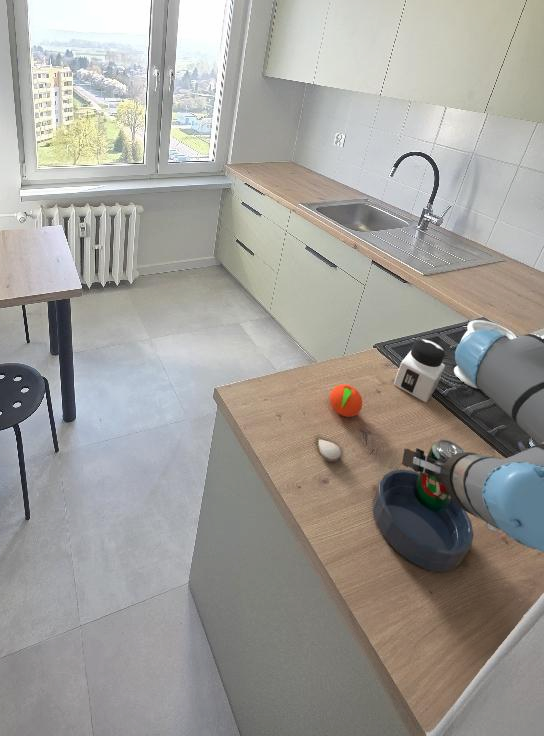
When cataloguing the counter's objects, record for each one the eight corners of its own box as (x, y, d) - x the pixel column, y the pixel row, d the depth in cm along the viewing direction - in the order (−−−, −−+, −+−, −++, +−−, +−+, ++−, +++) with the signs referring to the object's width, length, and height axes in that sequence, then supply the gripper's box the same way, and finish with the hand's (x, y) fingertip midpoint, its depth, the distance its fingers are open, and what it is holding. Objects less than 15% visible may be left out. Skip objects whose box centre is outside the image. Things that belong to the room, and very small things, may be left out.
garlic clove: (328, 467, 85) (330, 458, 84) (310, 447, 89) (312, 438, 88) (343, 459, 86) (346, 451, 85) (325, 440, 91) (327, 431, 90)
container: (426, 403, 101) (443, 362, 96) (392, 384, 106) (407, 344, 101) (436, 387, 106) (453, 347, 101) (404, 370, 111) (418, 331, 106)
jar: (458, 358, 117) (477, 314, 110) (502, 381, 109) (525, 336, 103) (442, 374, 111) (461, 328, 105) (487, 399, 103) (510, 352, 97)
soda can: (435, 485, 74) (457, 438, 69) (452, 515, 69) (478, 466, 64) (406, 483, 74) (427, 436, 69) (421, 513, 69) (445, 464, 64)
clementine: (352, 432, 93) (360, 408, 90) (321, 415, 97) (328, 392, 94) (361, 409, 99) (369, 387, 96) (332, 394, 102) (338, 372, 100)
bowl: (455, 510, 78) (465, 491, 76) (468, 592, 66) (480, 572, 64) (372, 476, 83) (379, 457, 81) (371, 545, 72) (379, 526, 69)
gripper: (400, 486, 55) (372, 467, 76) (575, 558, 48) (492, 516, 69) (410, 428, 58) (380, 424, 78) (578, 489, 51) (497, 468, 71)
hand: (432, 467), depth 73 cm, fingers closed on soda can, 5 cm apart
